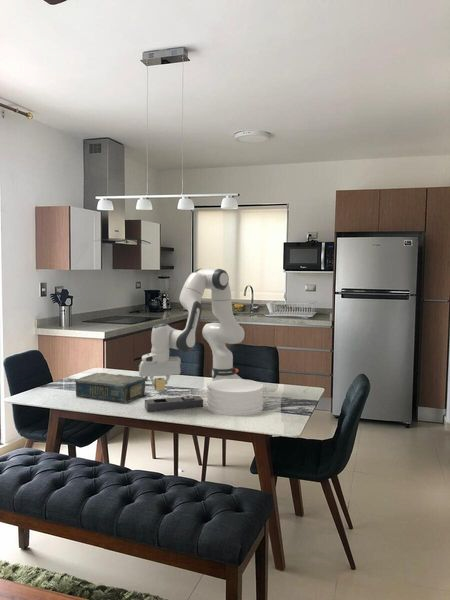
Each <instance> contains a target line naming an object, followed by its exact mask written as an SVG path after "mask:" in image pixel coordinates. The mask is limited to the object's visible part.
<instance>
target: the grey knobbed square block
mask: <svg viewBox="0 0 450 600" xmlns="http://www.w3.org/2000/svg"><path fill="white" fill-rule="evenodd" d="M192 396H193V395H182V396H181V397H182V400H183V401H185V400H193V397H192Z"/></svg>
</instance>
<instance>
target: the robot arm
mask: <svg viewBox="0 0 450 600" xmlns="http://www.w3.org/2000/svg"><path fill="white" fill-rule="evenodd" d="M229 278H230V277H229V274H228V273H227V271H226V270H225V269H222V268H212V267H211V268H210V267H209V268H198V269H196V270H194V271H193V272H192V273H191V272H190V275H189V276H188V277H187V278H186V280H185V282H184V284H183V286H182V289H181V291H180V293H179V302H180V304H181V305H182V307H183V308H184V309H186V310H187V311H188V317H187V321H186V325H185V328H184V329H183V330H179V329H176V328H173V327H171V326H170V325H169V324H168V323H167V322H165V323H162V322H161V323H157V324H155V325H153V327H152V329H151V330H152V331H151V335H150V338H151V339H150V340H151V349H150V351H151V352H150V353H146V354H143V355H142V356H141V361H140V363H139V365H140V367H139V368H138V375H139V377H147V376H148V377H149V379H150V381H151V386H154V385H156V384H155V383H156V382H155V380H154V379H155V377H166V378H165V386H166V385H168V382H169V379H170V377H171V376H179V375H180V374H181V363H182V361H181V360H182V359H181V357H179V356H178V355H177V356H170V349H174V350H177V351H178V350H179V351H182V352H184V353H185V352H186V353H187V352H190V351H192V350H193V348H194V347H195V345H196V342H197V334H198V333H197V332H198V328H199V325H200V320H201V317H202V316H201V315H202V310H203V307H202V304H201V302H202V300H203V299H202V298H203V295H204V293H205V290H210V291H211V312H212V315H214V317H215V318H217V319H218V321H219V322H210V323H206V324H205V325H204V326H203V328H202V331H201V333H202V337H203V339H204V340H206V341H207V343H208V345H209V347H210V349H211V351H212V352H211V353H212V369H211V378H212V379H211V382H212V381H216V380H222V379H243V378H242V377H240V376H239V374H237V373H238V372H239V369H238V368H237V367H236V368H235V367H234V366H233V365H234V364H233V362H234V360H233V359H234V357H233V352H232V351H231V350H230V349H228V347H227V346H226V345H229V344H231V345H235V344H240V343H242V342H243V341H244V338H245V330H244V328H243V326H241V325H240V324H239V323H238V321H237V320H236V318H235V316H234V312H233V305H232V291H231V287H230V283H229V280H230V279H229Z"/></svg>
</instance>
